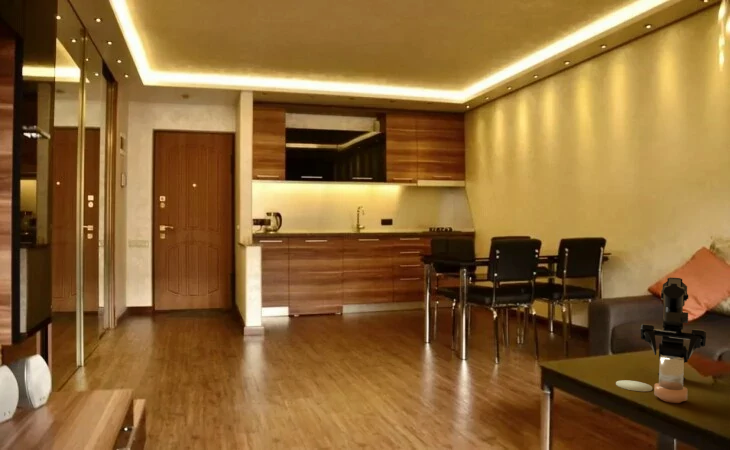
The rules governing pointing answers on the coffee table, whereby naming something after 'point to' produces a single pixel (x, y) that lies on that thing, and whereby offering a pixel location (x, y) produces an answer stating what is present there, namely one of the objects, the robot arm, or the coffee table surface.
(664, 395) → the bowl
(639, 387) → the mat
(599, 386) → the coffee table surface
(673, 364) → the frosted glass jar
